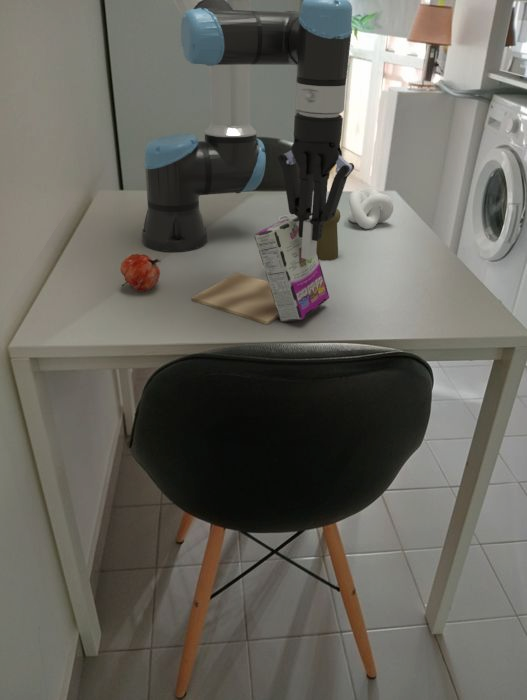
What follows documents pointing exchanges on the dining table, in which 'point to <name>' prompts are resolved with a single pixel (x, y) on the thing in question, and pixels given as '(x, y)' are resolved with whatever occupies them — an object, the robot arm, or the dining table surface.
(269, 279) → the candy bar box
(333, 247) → the pepper shaker
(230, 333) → the dining table surface
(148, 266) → the pomegranate
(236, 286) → the wooden board
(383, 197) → the white knot sculpture
